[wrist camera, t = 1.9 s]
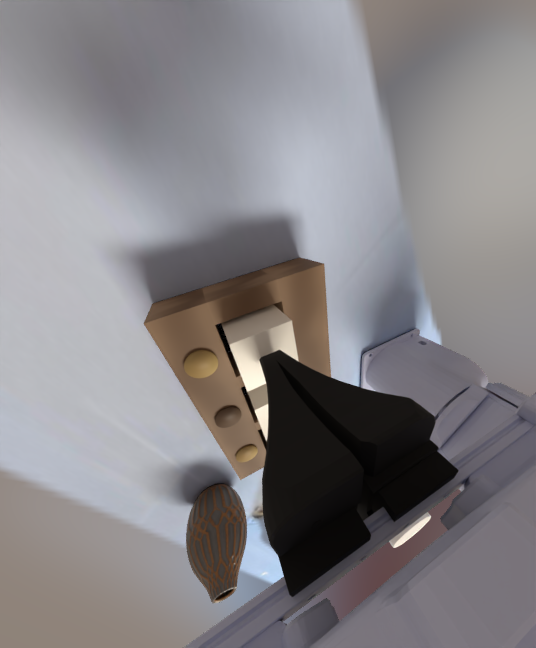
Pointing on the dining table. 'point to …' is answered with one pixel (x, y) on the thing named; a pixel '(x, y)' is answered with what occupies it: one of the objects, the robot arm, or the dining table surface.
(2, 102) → the dining table surface
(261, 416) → the button middle
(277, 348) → the button
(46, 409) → the dining table surface
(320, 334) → the button board
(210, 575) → the vase
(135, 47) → the dining table surface
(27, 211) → the dining table surface
